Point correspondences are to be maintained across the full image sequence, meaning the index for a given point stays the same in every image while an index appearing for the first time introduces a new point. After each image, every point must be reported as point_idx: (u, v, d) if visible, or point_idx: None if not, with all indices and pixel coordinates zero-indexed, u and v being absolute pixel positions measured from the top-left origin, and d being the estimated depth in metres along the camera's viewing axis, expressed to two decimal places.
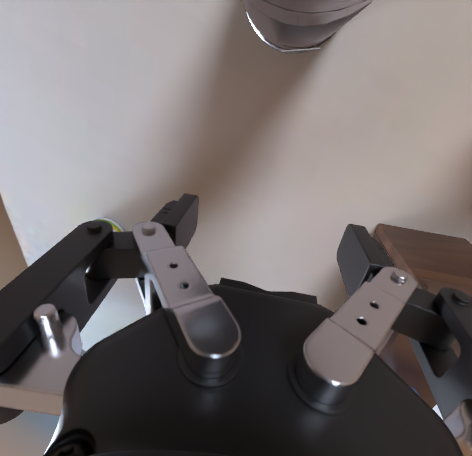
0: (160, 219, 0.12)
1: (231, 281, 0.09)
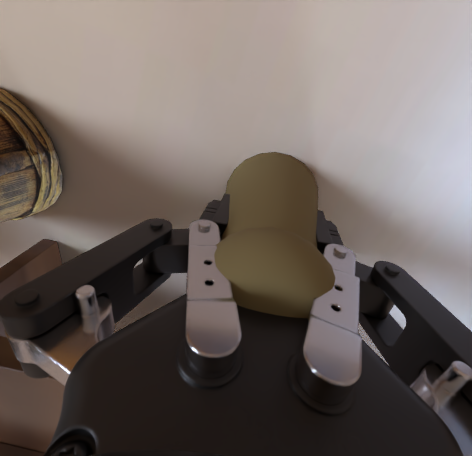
0: (207, 217, 0.13)
1: None
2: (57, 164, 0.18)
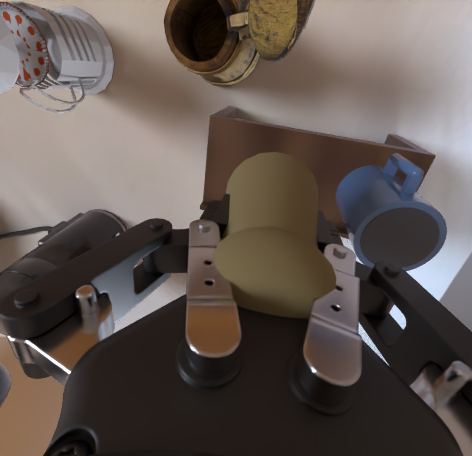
0: (207, 218, 0.13)
1: None
2: None
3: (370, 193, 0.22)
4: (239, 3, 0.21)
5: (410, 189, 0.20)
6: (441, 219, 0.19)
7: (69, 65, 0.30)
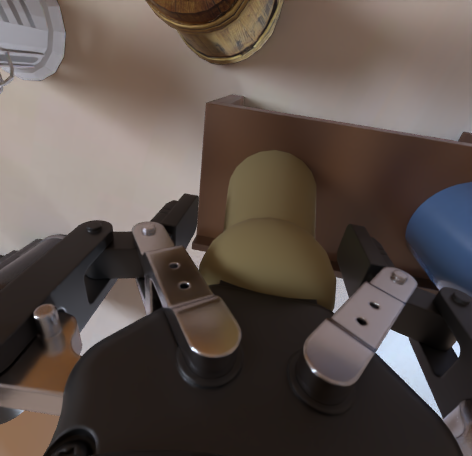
0: (160, 219, 0.12)
1: None
2: (283, 0, 0.20)
3: None
4: None
5: None
6: None
7: None
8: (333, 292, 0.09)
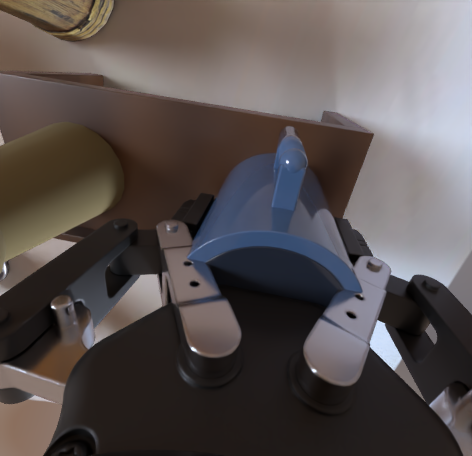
0: (180, 217, 0.12)
1: None
2: None
3: (220, 207, 0.10)
4: None
5: (283, 199, 0.09)
6: (347, 274, 0.08)
7: None
8: None
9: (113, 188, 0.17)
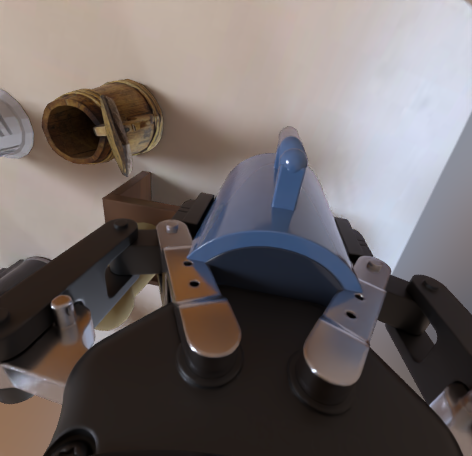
0: (180, 217, 0.12)
1: None
2: (162, 123, 0.34)
3: (219, 207, 0.10)
4: None
5: (283, 199, 0.09)
6: (347, 274, 0.08)
7: None
8: (120, 305, 0.22)
9: None
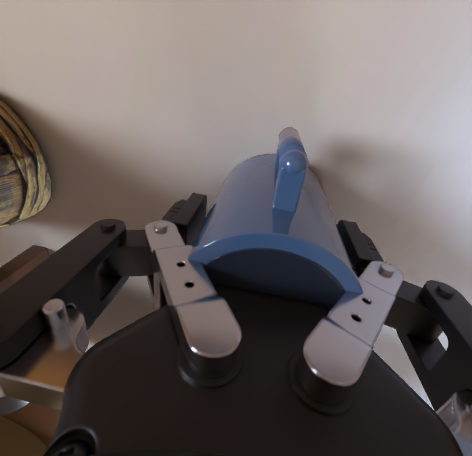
0: (170, 218, 0.12)
1: None
2: (45, 168, 0.17)
3: (219, 208, 0.10)
4: None
5: (283, 201, 0.09)
6: (348, 276, 0.08)
7: None
8: None
9: None
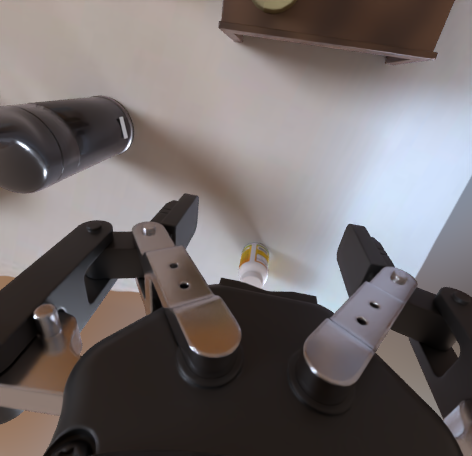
0: (160, 219, 0.12)
1: (231, 281, 0.09)
2: None
3: None
4: None
5: None
6: None
7: None
8: None
9: None
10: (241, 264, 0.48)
